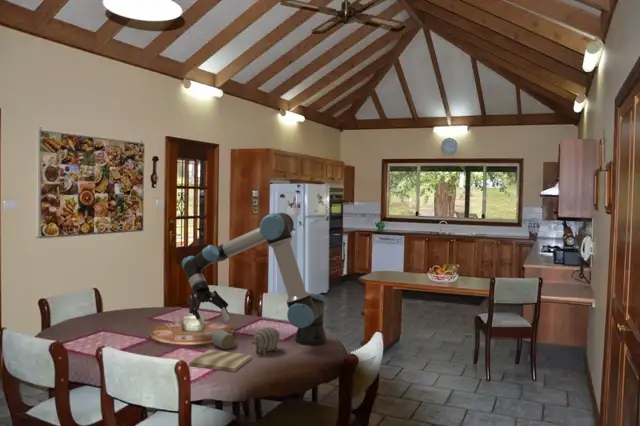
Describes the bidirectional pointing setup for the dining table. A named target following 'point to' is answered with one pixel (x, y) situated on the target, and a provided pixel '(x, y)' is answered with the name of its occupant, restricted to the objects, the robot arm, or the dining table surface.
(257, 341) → the toy sheep
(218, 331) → the ceramic mug
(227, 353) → the birch board
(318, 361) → the dining table surface
